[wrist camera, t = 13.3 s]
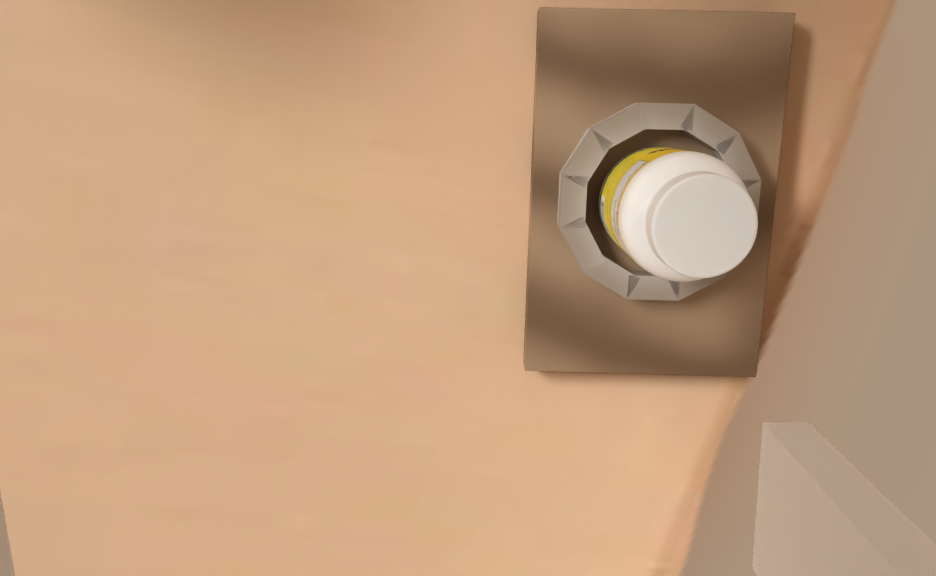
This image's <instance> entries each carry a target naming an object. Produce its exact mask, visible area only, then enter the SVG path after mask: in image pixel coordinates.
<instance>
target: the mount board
mask: <svg viewBox="0 0 936 576" xmlns="http://www.w3.org/2000/svg"><path fill="white" fill-rule="evenodd" d="M794 19H795V13H775V12H730V11H685V10H640V9H594V8H549V7H540V8H539V10H538V19H537V43H536V68H535V93H534V117H533V142H532V167H531V192H530V216H529V241H528V266H527V290H526V315H525V340H524V367H525V371H560V372H595V373H630V374H665V375H701V376H736V377H756V372H757V363H758V353H759V344H760V335H761V325H762V316H763V307H764V298H765V288H766V279H767V270H768V260H769V251H770V242H771V233H772V223H773V214H774V205H775V195H776V186H777V177H778V168H779V158H780V149H781V140H782V130H783V121H784V112H785V103H786V93H787V84H788V75H789V65H790V56H791V47H792V38H793V28H794ZM650 147H666V148H672V149H679V150H686V151H695V152H700V153H704V154H707V155H710V156H713V157H715V158H717V159H719V160H721V161H723V162H724V163H726V164H727V165H728V166H730V167H731V168H732V169H733V170H734V171H735V172H736V173H737V174H738V176H739V177H740V178H741V180H742V181H743V183H744V185H745V187H746V189H747V191H748V194H749V195H750V197H751V198H752V200H753V202H754V205H755V208H756V211H757V217H758V229H757V235H756V239H755V242H754V244H753V246H752V248H751V250H750V252H749V253H748V255H747V256H746V257H745V258H744V259H743V261H742V262H741V263H740V264H738V265H737V266H736V267H735V268H733V269H732V270H730V271H728V272H726V273H724V274H722V275H719V276H716V277H711V278H704V279H701V280H696V281H689V282H676V281H670V280H666V279H663V278H660V277H657V276H655V275H653V274H651V273H649V272H648V271H646V270H645V269H644V268H642V267H641V266H639V265H638V264H637V263H636V262H635V261H634V260H633V259H632V258H631V257H630V256H629V255H628V254H627V253H625V251H624V250H622V249H621V248H620V247H619V246H618V245H617V244H616V243H615V242H614V241H613V240H612V239H611V237H610V236H609V235H608V233H607V232H606V230H605V228H604V226H603V223H602V221H601V217H600V212H599V196H600V191H601V187H602V185H603V182H604V180H605V178H606V176H607V174H608V173H609V172H610V170H611V169H612V168H613V167H614V165H615V164H616V163H617V162H619V161H620V160H621V159H622V158H624V157H625V156H627V155H628V154H630V153H632V152H635V151H637V150H640V149H644V148H650Z"/></svg>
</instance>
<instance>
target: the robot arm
mask: <svg viewBox="0 0 936 576" xmlns="http://www.w3.org/2000/svg"><path fill="white" fill-rule="evenodd" d="M757 497H758V498H757V510H756V524H755V538H754V552H753V566H752V568H753V570H754V572H755V574H756V575H757V576H936V545H935V544H934V543H933V542H932V541H931V540H930V539H929V538H928V537H927V536H926V535H925V534H924V533H923V532H922V531H921V530H920V529H919V528H918V527H917V526H916V525H915V524H914V523H913V522H912V521H911V520H910V519H909V518H907V517H906V516H905V515H904V514H903V513H902V512H901V511H900V510H899V509H898V508H897V507H896V506H895V505H894V504H893V503H892V502H891V501H890V500H889V499H888V498H887V497H886V496H885V495H884V494H883V493H882V492H881V491H879V489H878V488H876V487H875V486H874V485H873V484H872V483H871V482H870V481H869V480H868V479H867V478H866V477H865V476H864V475H863V474H862V473H861V472H860V471H859V470H858V469H857V468H856V467H855V466H854V465H853V464H852V463H851V462H850V461H849V460H848V459H846V458H845V457H844V456H843V455H842V454H841V453H840V452H839V451H838V450H837V449H836V448H835V447H834V446H833V445H832V444H831V443H830V442H829V441H828V440H827V439H826V438H825V437H824V436H823V435H822V434H821V433H820V432H819V431H817V429H815V428H814V427H813V426H812V425H811V424H810V423H809V422H770V423H763V428H762V441H761V456H760V469H759V483H758V496H757ZM0 576H15V573H14V567H13V561H12V556H11V550H10V544H9V539H8V533H7V527H6V522H5V516H4V510H3V505H2V499H1V493H0Z"/></svg>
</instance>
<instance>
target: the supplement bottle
mask: <svg viewBox="0 0 936 576" xmlns="http://www.w3.org/2000/svg"><path fill="white" fill-rule="evenodd" d="M599 212H600V217H601V221H602V223H603V226H604V228H605V230H606V232H607V233H608V235H609V236H610V237H611V239H612V240H613V241H614V242H615V243H616V244H617V245H618V246H619V247H620V248H621V249H622V250H624V251H625V253H627V254H628V255H629V256H630V257H631V258H632V259H633V260H634V261H635V262H636V263H637V264H638V265H639V266H641V267H642V268H644V269H645V270H646V271H648V272H649V273H651V274H653V275H655V276H657V277H660V278H663V279H666V280H670V281H676V282H689V281H696V280H701V279H704V278H711V277H716V276H719V275H722V274H724V273H726V272H728V271H730V270H732V269H733V268H735V267H736V266H737V265H738V264H740V263H741V262H742V261H743V259H744V258H745V257H746V256H747V255H748V253H749V252H750V250H751V248H752V246H753V244H754V242H755V239H756V235H757V229H758V217H757V211H756V208H755V205H754V202H753V200H752V198H751V197H750V195H749V194H748V191H747V189H746V187H745V185H744V183H743V181H742V180H741V178H740V177H739V176H738V174H737V173H736V172H735V171H734V170H733V169H732V168H731V167H730V166H728V165H727V164H726V163H724V162H723V161H721V160H719V159H717V158H715V157H713V156H710V155H707V154H704V153H700V152H695V151H686V150H679V149H672V148H666V147H650V148H644V149H640V150H637V151H635V152H632V153H630V154H628V155H627V156H625V157H624V158H622V159H621V160H620V161H619V162H617V163H616V164H615V165H614V167H613V168H612V169H611V170H610V172H609V173H608V174H607V176H606V178H605V180H604V182H603V185H602V187H601V191H600V196H599Z"/></svg>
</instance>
